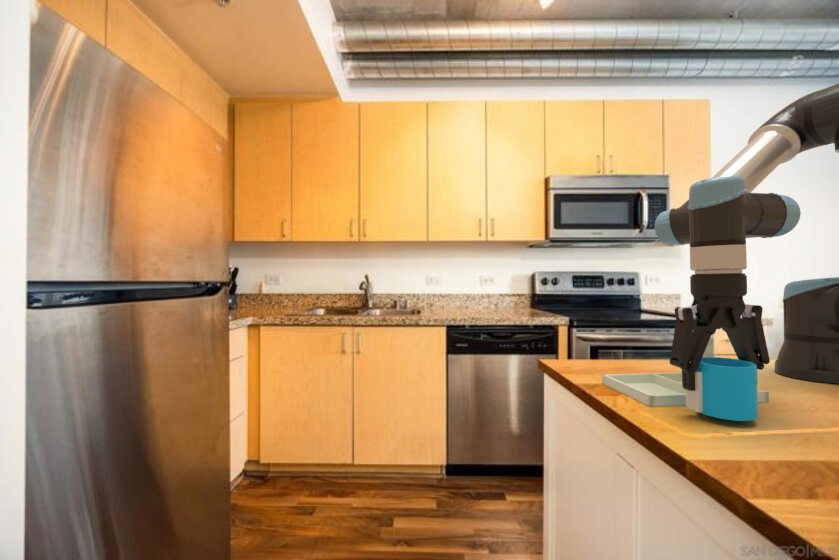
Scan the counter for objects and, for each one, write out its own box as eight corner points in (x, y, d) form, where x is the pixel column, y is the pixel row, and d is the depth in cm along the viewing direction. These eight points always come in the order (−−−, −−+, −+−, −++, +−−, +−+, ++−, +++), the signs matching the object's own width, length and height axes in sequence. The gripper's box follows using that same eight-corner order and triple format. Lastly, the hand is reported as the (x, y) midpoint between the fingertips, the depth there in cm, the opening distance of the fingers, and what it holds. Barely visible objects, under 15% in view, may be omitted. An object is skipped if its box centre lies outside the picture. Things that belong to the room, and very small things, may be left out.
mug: (756, 424, 59) (755, 370, 59) (691, 413, 64) (689, 363, 64) (759, 404, 68) (758, 357, 68) (701, 395, 73) (700, 351, 73)
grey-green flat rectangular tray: (700, 382, 89) (700, 371, 89) (768, 405, 73) (768, 391, 73) (602, 386, 87) (602, 374, 87) (650, 409, 71) (650, 396, 71)
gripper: (755, 271, 70) (757, 397, 70) (642, 274, 68) (645, 404, 69) (799, 270, 63) (801, 412, 63) (673, 273, 61) (676, 419, 61)
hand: (720, 407), depth 66 cm, fingers closed on mug, 8 cm apart
